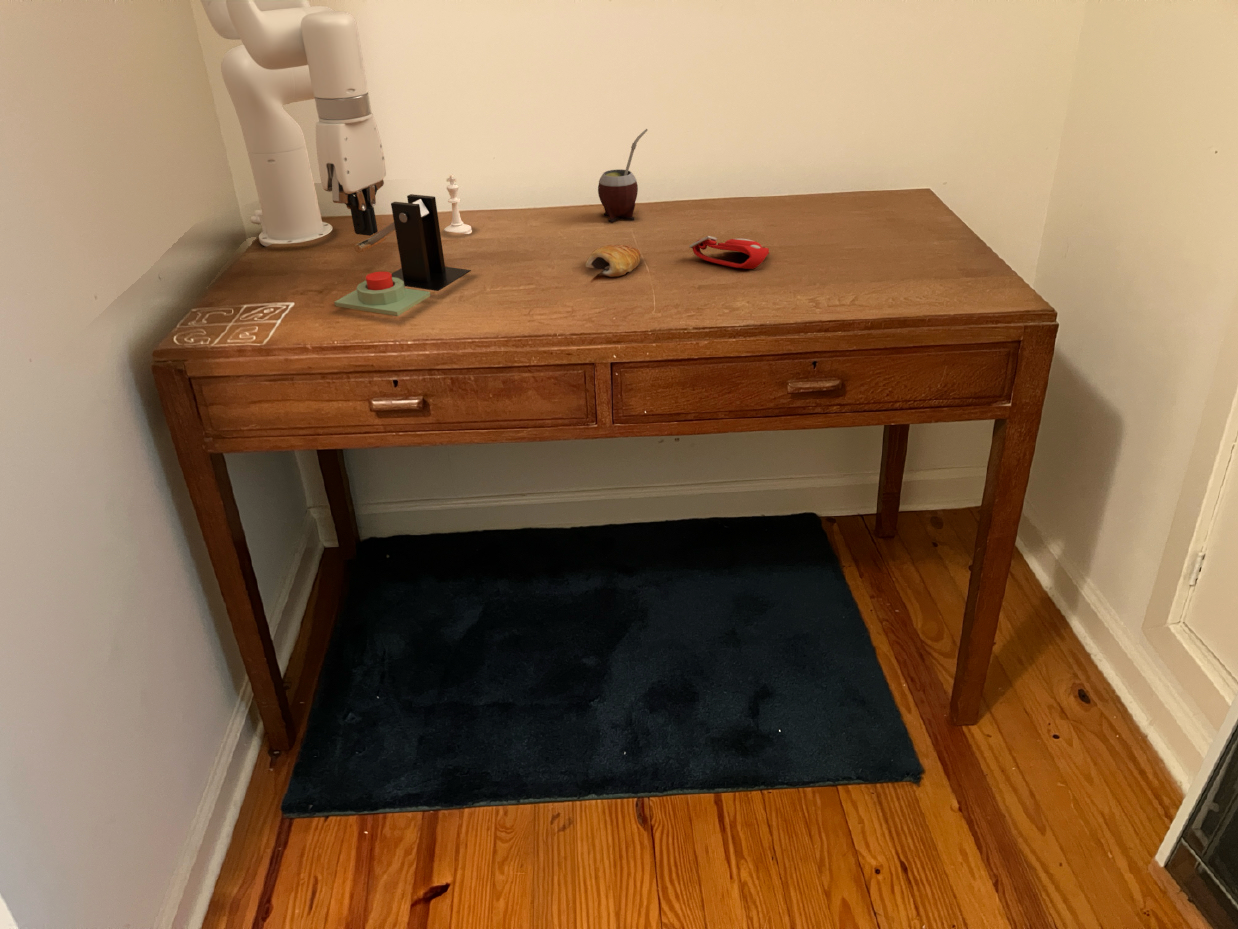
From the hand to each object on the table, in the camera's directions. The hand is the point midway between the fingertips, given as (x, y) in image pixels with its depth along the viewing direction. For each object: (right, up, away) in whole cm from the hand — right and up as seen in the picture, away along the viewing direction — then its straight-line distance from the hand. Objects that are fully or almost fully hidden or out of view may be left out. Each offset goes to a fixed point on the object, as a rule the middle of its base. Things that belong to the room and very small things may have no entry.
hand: (366, 233), depth 141 cm
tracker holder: (+57, -3, +4) cm, 57 cm away
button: (+5, -10, -10) cm, 15 cm away
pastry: (+38, -5, +2) cm, 39 cm away
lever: (+5, -1, -3) cm, 6 cm away
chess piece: (+11, +5, +21) cm, 24 cm away
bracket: (+9, -8, 0) cm, 12 cm away
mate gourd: (+39, +9, +25) cm, 48 cm away
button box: (+5, -13, -8) cm, 16 cm away
